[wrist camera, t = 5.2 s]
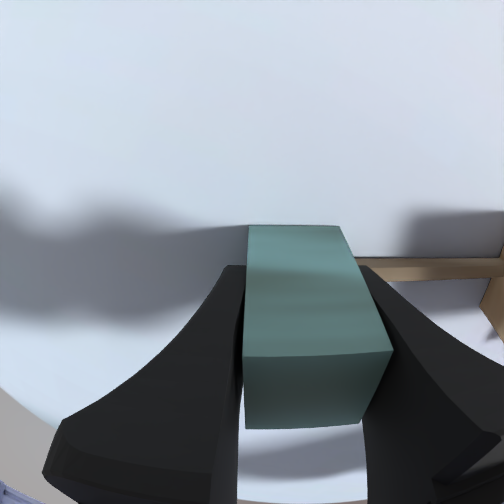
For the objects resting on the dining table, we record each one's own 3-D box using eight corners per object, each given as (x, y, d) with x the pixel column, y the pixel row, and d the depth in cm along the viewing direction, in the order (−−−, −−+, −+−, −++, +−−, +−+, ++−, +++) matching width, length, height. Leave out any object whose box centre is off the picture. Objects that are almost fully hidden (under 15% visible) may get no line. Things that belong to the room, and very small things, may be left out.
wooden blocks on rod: (536, 298, 12) (584, 366, 8) (249, 317, 13) (246, 444, 8) (568, 218, 10) (634, 279, 5) (248, 196, 10) (240, 317, 5)
